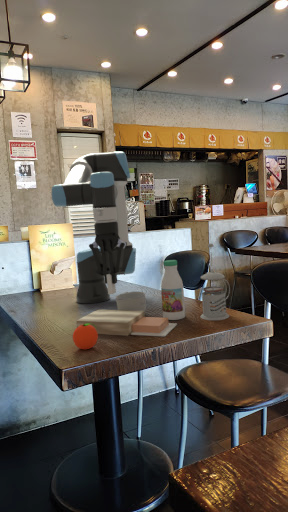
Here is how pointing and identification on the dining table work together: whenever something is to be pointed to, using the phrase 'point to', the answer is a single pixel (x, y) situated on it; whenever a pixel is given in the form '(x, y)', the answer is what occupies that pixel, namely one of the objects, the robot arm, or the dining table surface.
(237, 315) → the dining table surface
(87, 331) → the clementine
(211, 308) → the french press
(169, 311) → the milk bottle
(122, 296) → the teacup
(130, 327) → the block
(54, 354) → the dining table surface
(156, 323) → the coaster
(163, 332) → the mat
